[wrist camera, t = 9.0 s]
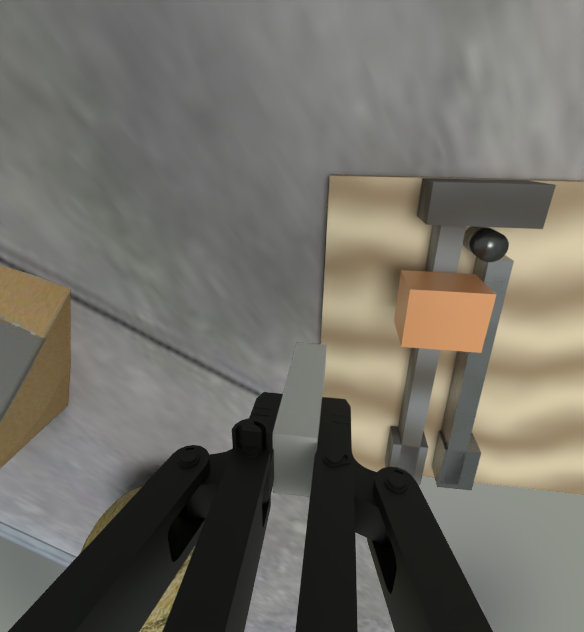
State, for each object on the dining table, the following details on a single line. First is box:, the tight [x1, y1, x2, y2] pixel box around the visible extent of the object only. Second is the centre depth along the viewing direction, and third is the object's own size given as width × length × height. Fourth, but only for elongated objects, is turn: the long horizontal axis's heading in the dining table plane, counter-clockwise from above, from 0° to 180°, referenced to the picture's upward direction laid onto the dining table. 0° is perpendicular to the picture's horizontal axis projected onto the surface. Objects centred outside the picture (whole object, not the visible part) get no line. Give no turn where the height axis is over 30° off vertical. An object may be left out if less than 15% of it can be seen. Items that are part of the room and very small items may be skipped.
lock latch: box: [394, 270, 497, 353], centre depth 25 cm, size 4×5×4 cm
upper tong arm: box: [432, 226, 514, 490], centre depth 30 cm, size 24×4×3 cm, turn 1°
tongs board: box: [321, 175, 584, 495], centre depth 30 cm, size 28×26×5 cm
